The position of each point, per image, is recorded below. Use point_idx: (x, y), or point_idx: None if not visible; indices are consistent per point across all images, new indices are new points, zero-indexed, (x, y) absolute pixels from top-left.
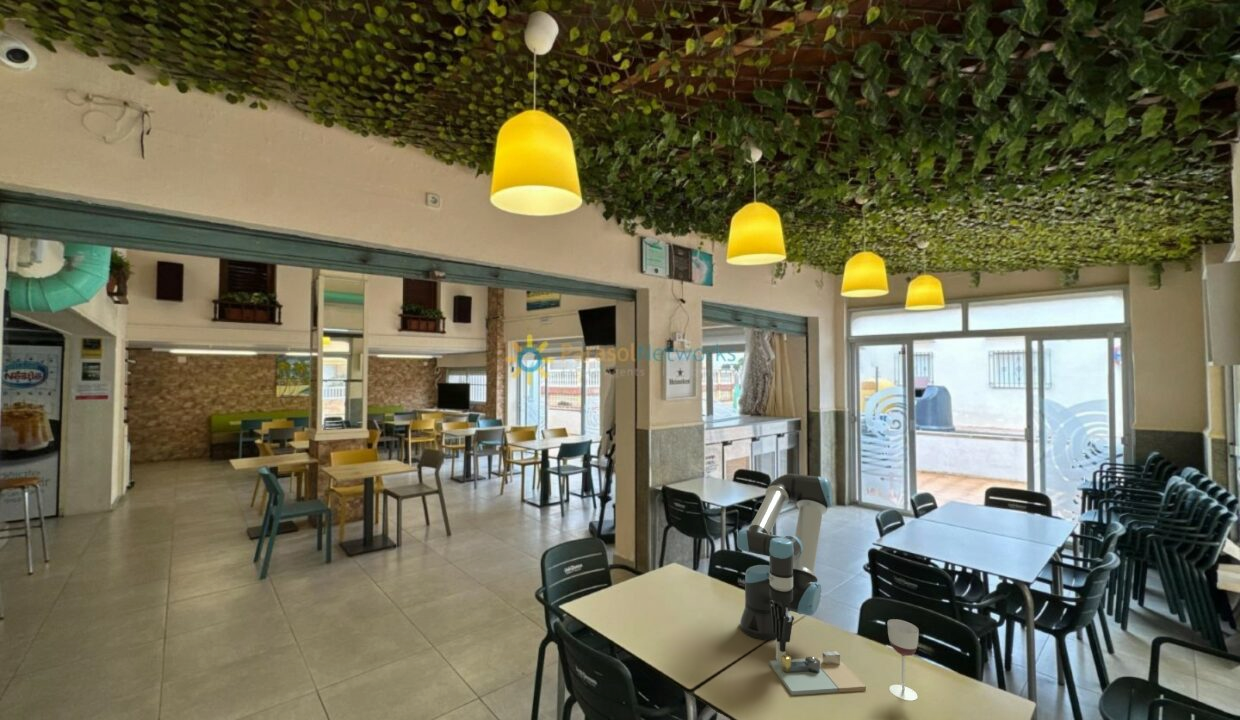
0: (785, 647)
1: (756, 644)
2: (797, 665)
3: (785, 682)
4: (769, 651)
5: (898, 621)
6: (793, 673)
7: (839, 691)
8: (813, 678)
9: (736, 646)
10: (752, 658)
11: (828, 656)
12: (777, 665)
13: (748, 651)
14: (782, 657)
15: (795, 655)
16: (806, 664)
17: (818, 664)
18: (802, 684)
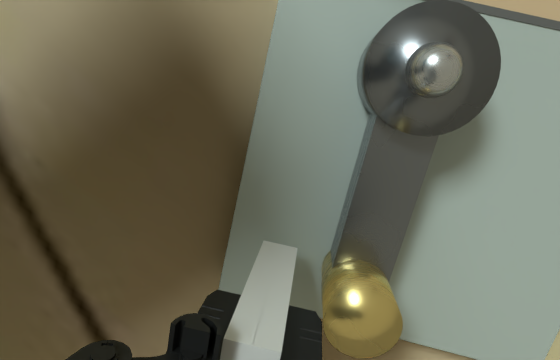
0: (321, 343)
1: (11, 217)
2: (399, 222)
3: (447, 351)
4: (98, 190)
5: None
6: None
7: None
8: (503, 154)
9: (15, 337)
10: (144, 330)
11: None
12: None
13: (74, 308)
14: (351, 355)
15: (181, 45)
16: (419, 142)
17: (498, 57)
18: (518, 273)
